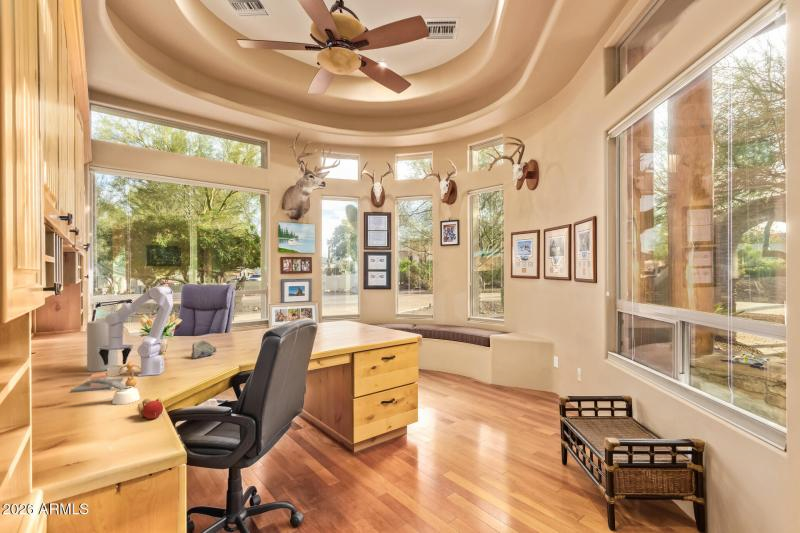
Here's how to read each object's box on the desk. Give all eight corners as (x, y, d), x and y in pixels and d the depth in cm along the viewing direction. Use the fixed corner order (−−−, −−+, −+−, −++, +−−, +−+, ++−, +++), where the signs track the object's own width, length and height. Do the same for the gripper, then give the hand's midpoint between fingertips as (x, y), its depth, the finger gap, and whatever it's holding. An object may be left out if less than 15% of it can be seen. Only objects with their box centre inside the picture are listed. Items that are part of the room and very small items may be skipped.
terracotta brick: (106, 381, 170) (106, 372, 170) (104, 384, 165) (105, 375, 165) (92, 383, 168) (92, 374, 168) (90, 386, 163) (90, 377, 163)
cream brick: (123, 372, 189) (123, 364, 189) (119, 375, 183) (119, 367, 183) (111, 373, 187) (111, 365, 187) (107, 376, 182) (107, 368, 182)
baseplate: (123, 380, 175) (123, 378, 175) (109, 389, 162) (109, 386, 162) (87, 382, 171) (87, 380, 171) (70, 392, 158) (70, 390, 158)
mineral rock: (216, 354, 230) (216, 337, 230) (214, 358, 220) (215, 340, 220) (193, 356, 225) (193, 339, 225) (190, 359, 215) (190, 342, 215)
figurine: (143, 385, 168) (143, 358, 168) (140, 388, 162) (140, 361, 162) (120, 387, 164) (120, 360, 164) (117, 391, 159) (117, 363, 159)
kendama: (131, 413, 138) (138, 421, 125) (135, 395, 139) (142, 401, 126) (155, 412, 143) (165, 419, 130) (159, 394, 144) (168, 400, 131)
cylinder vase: (123, 366, 200) (123, 320, 200) (99, 372, 188) (100, 323, 188) (105, 365, 203) (105, 319, 203) (80, 371, 191) (80, 322, 191)
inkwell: (138, 402, 145) (138, 377, 145) (79, 410, 137) (79, 383, 137) (142, 395, 153) (142, 371, 154) (87, 402, 145) (87, 377, 146)
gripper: (135, 334, 191) (135, 361, 191) (102, 336, 187) (101, 363, 187) (130, 337, 185) (129, 364, 184) (95, 338, 180) (94, 366, 180)
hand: (115, 364), depth 185 cm, fingers open, 7 cm apart
